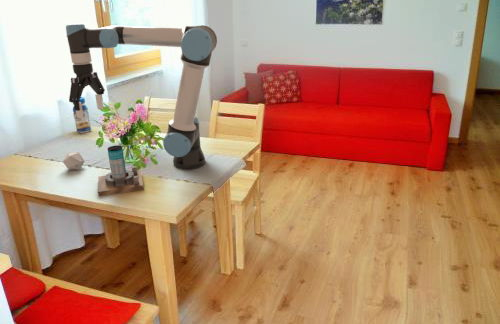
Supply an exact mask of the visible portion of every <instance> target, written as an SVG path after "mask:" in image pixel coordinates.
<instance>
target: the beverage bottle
mask: <svg viewBox="0 0 500 324" xmlns="http://www.w3.org/2000/svg"><path fill="white" fill-rule="evenodd" d="M76 100H77V99H76ZM79 102H81V105H82V110H83V116H84V118H77V114H76V110H75V107H74V103H72V105H73V107H72V112H73V115H72V116H73V119H74V123H75V129H76V132H77V133H81V134H83V133H88V132H91V131H92V127H91V122H90V115H89V114H90V113H89V111H88V110H89V109H88V107H87V105H86V104H85V103H86V99H85V97H83V96H81V98H80V101H79Z"/></svg>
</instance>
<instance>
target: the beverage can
mask: <svg viewBox="0 0 500 324" xmlns="http://www.w3.org/2000/svg"><path fill="white" fill-rule="evenodd" d="M107 155H108V159H109V167H110V172H111V173H112V179H115V180H116V179H123V178H125V177H127V175H126V170H127V168H126V163H125V156H124V149H123V146H122V145H119V144H118V145H111V146H109V147H107Z"/></svg>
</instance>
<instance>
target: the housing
mask: <svg viewBox="0 0 500 324" xmlns="http://www.w3.org/2000/svg"><path fill="white" fill-rule="evenodd" d="M126 175H127V177H125V178H123V179H116V180H115V179H112V173H111V171H110V172H109V173H107V174H105V175H98V177H97V178H98V179H97V196H98V197H105V196H109V195H117V194H123V193H130V192H137V191H142V190H144V183H143V178H142V177H143V176H142V172H141V170H138V167H137V166H132V167H131V170H129V169H126Z"/></svg>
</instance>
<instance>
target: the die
mask: <svg viewBox="0 0 500 324" xmlns="http://www.w3.org/2000/svg"><path fill="white" fill-rule="evenodd" d="M85 160H86V159H84V157H83V156H82V155H81V152H68V153H67V154H66V155H65V157H64V159H63V161H62V163H63V164H64V165H65V167H66V168H67V170H68V171H81V169H82V167H83V165H84V163H85Z"/></svg>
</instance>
